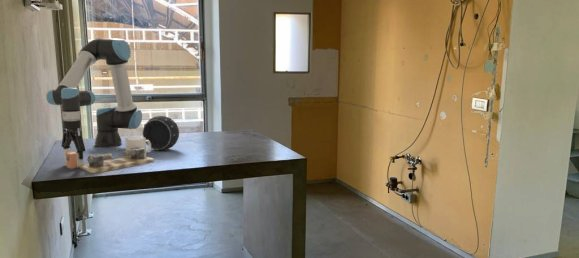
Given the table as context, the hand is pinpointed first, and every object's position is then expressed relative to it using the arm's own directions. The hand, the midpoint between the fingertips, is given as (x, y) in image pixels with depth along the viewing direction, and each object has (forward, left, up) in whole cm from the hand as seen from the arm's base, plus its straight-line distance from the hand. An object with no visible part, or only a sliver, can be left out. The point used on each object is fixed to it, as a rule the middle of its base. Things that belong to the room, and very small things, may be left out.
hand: (74, 163), depth 212 cm
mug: (+3, +33, -2) cm, 33 cm away
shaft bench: (+12, +16, -2) cm, 20 cm away
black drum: (-2, +51, -2) cm, 51 cm away
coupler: (0, 0, -2) cm, 2 cm away
